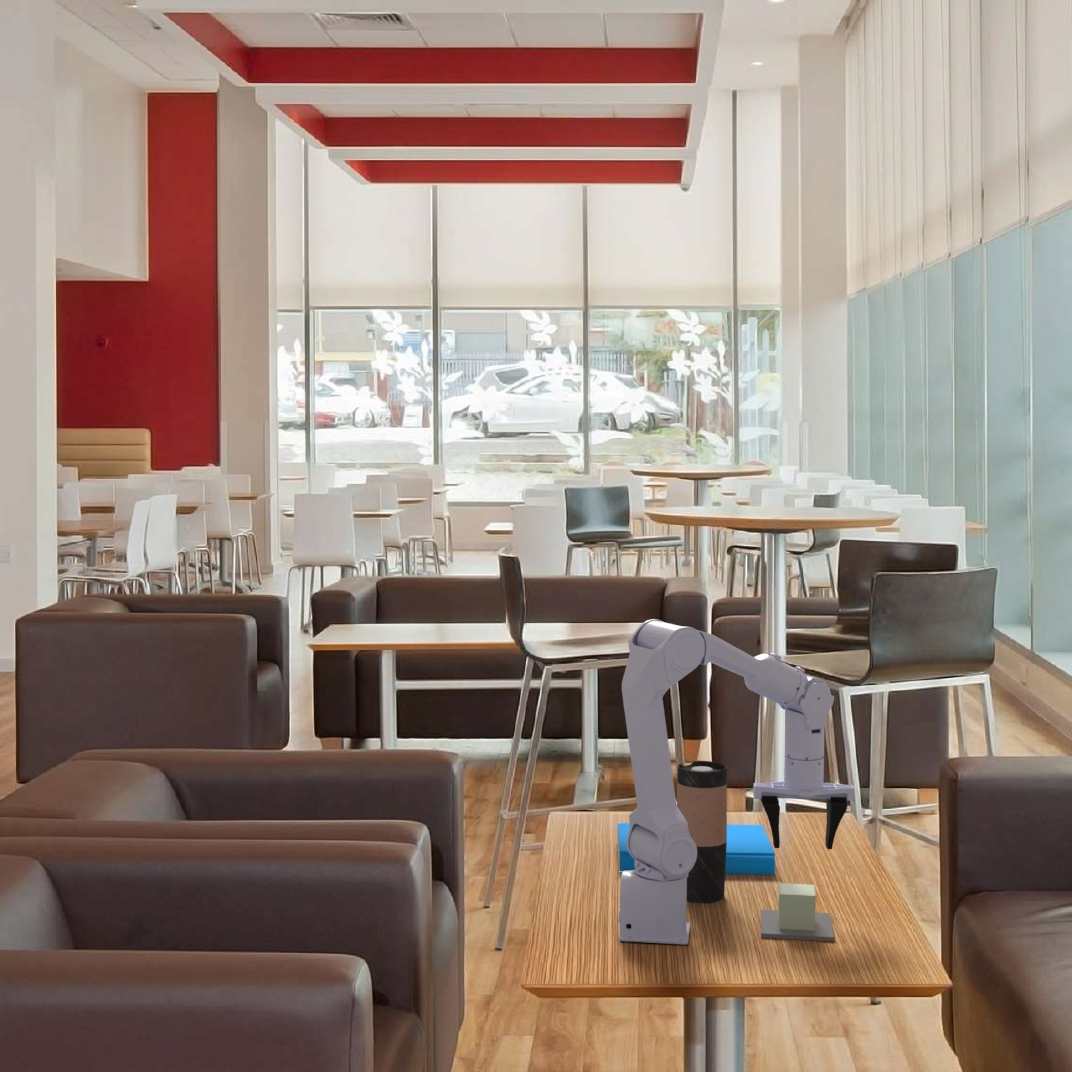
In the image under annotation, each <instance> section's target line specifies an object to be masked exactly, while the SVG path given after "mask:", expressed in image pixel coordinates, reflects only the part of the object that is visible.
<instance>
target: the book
mask: <svg viewBox="0 0 1072 1072" xmlns="http://www.w3.org/2000/svg"><path fill="white" fill-rule="evenodd" d="M616 825H617V837H616V838H617V841H618V844H617V854H618V855H617V857H618V856H619V858H618V871H631V870H635V859H634V858H633V857H632V856H631V855H630V853H629V851H628V849H627V836H628V832H629V828H630V822H628V823H626V822H624V823H623V822H617V824H616ZM726 842H727V846H726V868H725V875H775V873H776V872H775V871H776V858H775V856H776V853H775V850H774V848H773V846H772V843H771V841H770V839H769V837H768V834H767V832H766V830H765V828H764V826H763V824H728V823H727V841H726Z"/></svg>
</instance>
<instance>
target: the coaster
mask: <svg viewBox="0 0 1072 1072" xmlns="http://www.w3.org/2000/svg"><path fill="white" fill-rule="evenodd" d="M832 921H833V920H832V916H831V913H830V912H816V911H815V931H810V930H792V929H779V920H778V910H776V909H773V910H772V909H760V936H761V938H762V939H763V938H764V939H765V938H766V939H778V940H779V939H780V940H783V939H784V940H796V941H797V940H799V941H800V940H801V941H820V942H835V933H834V928H833V922H832Z"/></svg>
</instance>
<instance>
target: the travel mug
mask: <svg viewBox="0 0 1072 1072" xmlns="http://www.w3.org/2000/svg"><path fill="white" fill-rule="evenodd" d="M676 775H677V776H676V777H677V779H676V781H677V783H676V785H677V787H676V791H677V792H676V805H677V807H678V808H679V810H680V812H681V813H682V815H683V816H684V818H685V820H686V821H687V823H688V830H689V833H690V836H691V837H692V839H693V840H694V842H695V844H696V847H697V859H696V862H695V864H694V866H693V868H692V869H691V870H690V872H688V877H687V902H691V903H700V904H703V903H704V904H705V903H714V902H715V903H716V902H719V901H722V899H724V897H725V891H726V890H725V888H726V887H725V886H726V885H725V884H726V874H725V868H726V846H727V842H726V841H727V824H728V822H727V821H728V819H727V818H728V816H727V815H728V807H727V805H728V804H727V803H728V802H727V801H728V799H727V798H728V796H727V795H728V768H727V765H725V764H724V763H720V762H716V761H711V760H695V761H692V762H691V763H690V764H687V765H683V764H682V762H681V763H679V764H678V765H677V774H676Z"/></svg>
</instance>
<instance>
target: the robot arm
mask: <svg viewBox="0 0 1072 1072" xmlns="http://www.w3.org/2000/svg"><path fill="white" fill-rule="evenodd" d="M627 643H628V650H629V655H628V659H627V663H626V666H625V670H624V673H623V677H622V681H621V694H622V702H623V709H624V716H625V724H626V732H627V739H628V747H629V753H630V754H629V755H630V762H631V770H632V776H633V785H634V791H635V798H636V799H635V800H636V805H637V806H636V808H635V809H634V810H632V811H631V812H630V814H629V816H628V818H629V819H628V820H629V823H630V828H629V832H628V836H627V849H628V851H629V853H630V855H631V856H632V857H633V858H634V859H635V870H631V871H622V872H621V876H620V888H619V889H620V890H619V910H618V923H619V941H621V942H629V943H630V942H633V943H648V944H649V943H650V944H651V943H652V944H653V943H654V944H665V945H666V944H668V945H688V944H689V938H690V937H689V936H690V932H691V931H690V929H691V923H690V922H689V921H688V922H687V913H688V912H687V911H688V910H687V905H688V904H687V902H688V901H687V877H688V872H690V870H691V869H692V868H693V866H694V864H695V862H696V859H697V847H696V844H695V842H694V840H693V839H692V837H691V836H690V833H689V830H688V823H687V821H686V820H685V818H684V816H683V815H682V813H681V812H680V810H679V808H678V807H677V797H676V793H675V791H676V790H675V784H674V783H675V782H674V778H673V777H674V776H673V770H672V762H671V761H672V760H671V755H670V746H669V740H668V730H667V723H666V716H665V708H664V707H665V706H664V700H663V698H664V695H666V693H667V692H668V691H669V689H670V688H671V687H673V686H674V685H675V684H677V683H678V682H679V681H681V680H682V679H683V678H685V677H686V676H687V675H689V674H690V673H692V672H693V671H694V670H695V669H697V667H698V666H699V665H703V666H706V665H708V664H709V663H711V664H714V665H716V666H718V667H720V668H722V669H725V670H727V671H729V672H732V673H734V674H736V675H739V676H741V677H743V678H744V685H745V686H746V687H747V689H748V690H749V691H750V692H753V693H755V694H757V695H760V696H762V697H764V698H766V699H768V700H770V701H772V702H774V703H776V704H778V705H779V706H780V708H781V709H782V710H784V715H785V716H784V757H783V760H784V763H783V765H784V766H783V767H784V768H783V781H776V782H775V781H773V782H753V788H752V789H753V791H752V793H753V799H754V800H760V801H761V804H762V808H763V809H764V811H765V813H766V816H767V820H768V821H769V826H770V830H771V836H772V843H773V847H774V848H773V849H780V845H781V844H780V843H781V842H780V813H781V812H780V811H781V806H780V803H779V802H780V801H779V799H794V800H796V799H797V800H799V799H800V800H802V799H804V800H825V801H826V803H825V804H826V827H825V836H824V837H825V848H826V849H827V850H833V845H834V841H835V836H836V833H837V831H838V827H839V825H840V823H841V821H842V819H843V817H844V816H845V813H846V812H847V809H848V802H850V801H851V802H854V801H855V787H854V786H853V784H843V783H842V784H841V783H831V782H824V776H825V775H824V774H825V773H824V771H825V769H824V768H825V767H824V764H825V763H824V762H825V727H826V725H827V724H828V714H829V712H830V711H831V709H832V707H833V705H834V701H835V696H834V695H832V693H831V690H830V686H828V683H827V682H826V681H825V680H823V679H822V678H818V677H815V676H811V675H807V674H806V673H805V671H806V670H805V669H804V668H802V667H800V666H797V665H796V666H795V667H793V666H791V665H789V664H787V663H785V661H784V662H783V661H782V659H783V658H782V656H781V655H779V654H777V653H773V652H770V653H769V654H768V653H760V654H758V655H755V656H752V655H750V654H749V653H747V652H745V651H743V650H742V649H740V648H737V647H735V646H734V645H732V644H730V643H729V642H727V641H725V640H724V639H722V638H719V637H718V636H716V635H714V634H713V633H709V632H705V631H702V630H697V629H696V628H694V627H692V626H687V625H686V626H682V625H677V624H674V623H668V622H666V621H665V622H664V621H663V620H661V619H656V618H653V619H652V618H651V619H648V620H645V621H643V622H642V623H641V624H640V625H639V627H637V628H636V629H635V631H634V632H633V633H632V635H631V636H630V637H629V639H628V642H627ZM847 801H848V802H847Z"/></svg>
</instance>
